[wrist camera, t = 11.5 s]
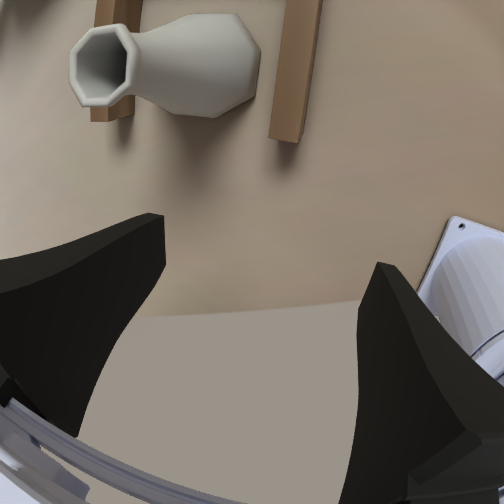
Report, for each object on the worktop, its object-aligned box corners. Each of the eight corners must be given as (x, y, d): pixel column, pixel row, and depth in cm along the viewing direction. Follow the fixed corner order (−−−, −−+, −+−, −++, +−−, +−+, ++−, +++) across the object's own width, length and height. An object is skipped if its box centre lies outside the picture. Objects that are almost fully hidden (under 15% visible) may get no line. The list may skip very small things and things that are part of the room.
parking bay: (329, -59, 11) (327, -79, 8) (302, 133, 18) (297, 143, 15) (133, -50, 12) (108, -59, 10) (117, 113, 19) (90, 121, 17)
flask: (249, -2, 14) (169, -61, 6) (273, 107, 17) (214, 138, 9) (144, 32, 16) (25, 29, 8) (167, 129, 19) (60, 179, 11)
